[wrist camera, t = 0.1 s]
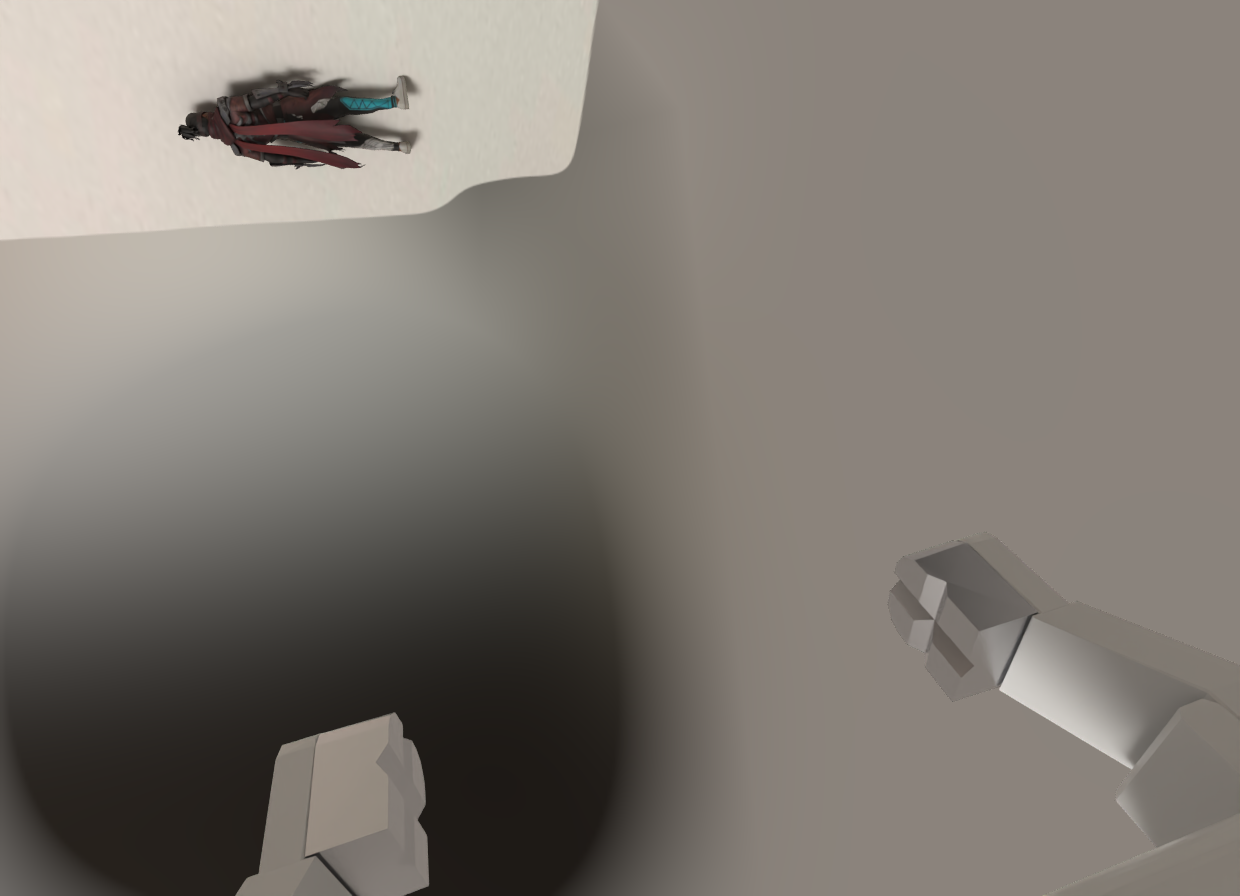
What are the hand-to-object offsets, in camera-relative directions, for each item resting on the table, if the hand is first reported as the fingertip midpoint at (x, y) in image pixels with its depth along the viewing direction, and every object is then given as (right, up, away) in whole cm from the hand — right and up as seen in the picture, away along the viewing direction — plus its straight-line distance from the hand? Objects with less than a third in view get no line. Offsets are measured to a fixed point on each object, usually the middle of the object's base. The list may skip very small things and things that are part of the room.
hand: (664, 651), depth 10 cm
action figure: (-28, +32, +46) cm, 63 cm away
